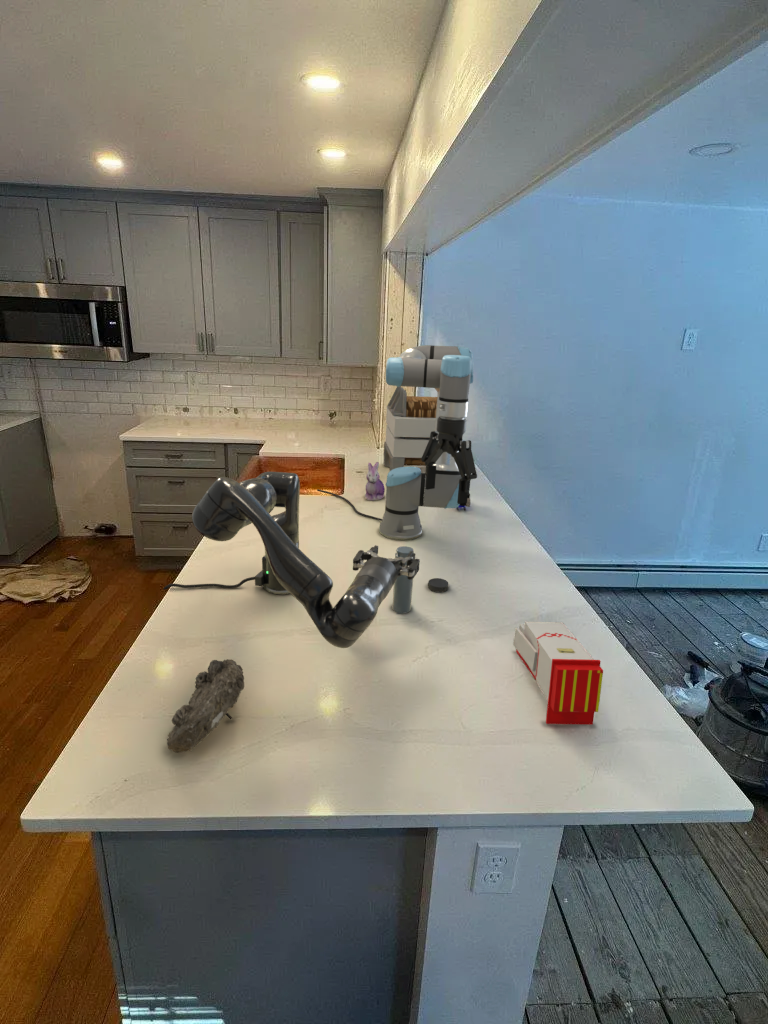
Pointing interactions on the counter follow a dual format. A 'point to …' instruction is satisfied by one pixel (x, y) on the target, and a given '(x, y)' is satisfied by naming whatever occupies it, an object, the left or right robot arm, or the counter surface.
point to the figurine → (374, 483)
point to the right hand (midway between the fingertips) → (445, 495)
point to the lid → (438, 585)
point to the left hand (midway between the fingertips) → (394, 551)
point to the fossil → (206, 705)
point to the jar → (402, 586)
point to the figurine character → (465, 503)
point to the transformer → (408, 428)
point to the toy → (561, 671)
